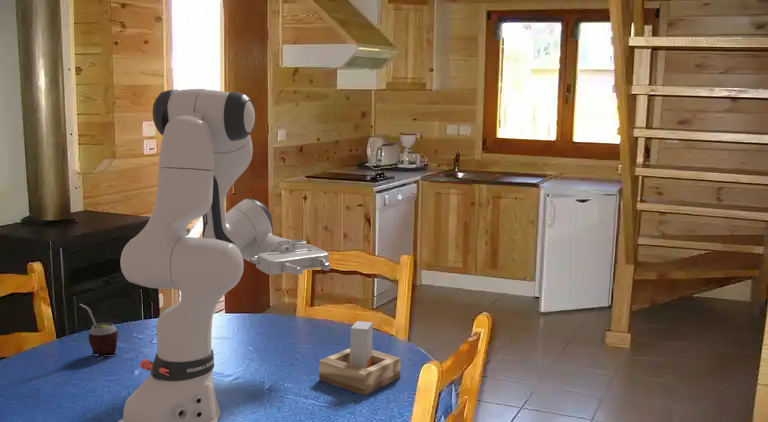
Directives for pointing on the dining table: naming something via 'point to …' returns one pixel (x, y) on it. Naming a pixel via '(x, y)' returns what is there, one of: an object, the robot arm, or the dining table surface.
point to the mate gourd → (102, 337)
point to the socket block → (359, 371)
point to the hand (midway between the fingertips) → (314, 269)
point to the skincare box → (361, 344)
